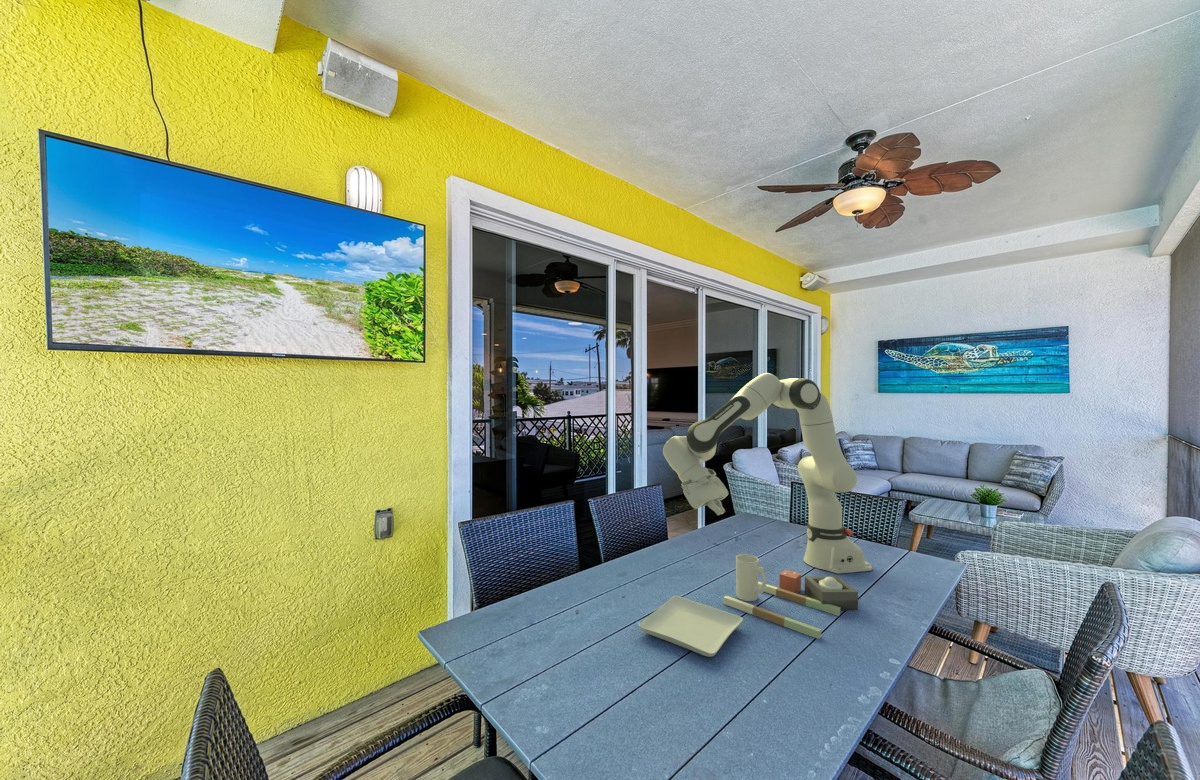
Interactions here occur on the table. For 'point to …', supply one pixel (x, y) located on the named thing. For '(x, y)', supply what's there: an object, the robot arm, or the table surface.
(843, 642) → the table surface
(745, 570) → the mug
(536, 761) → the table surface
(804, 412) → the robot arm
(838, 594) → the dome housing
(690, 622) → the salad plate
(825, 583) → the pop dome
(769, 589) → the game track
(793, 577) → the die
